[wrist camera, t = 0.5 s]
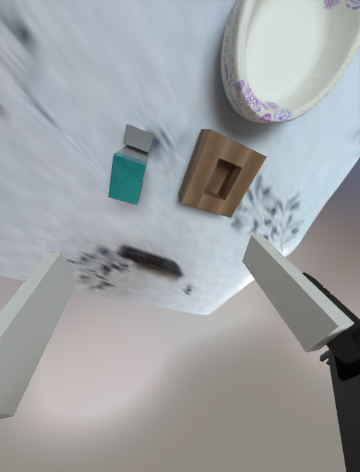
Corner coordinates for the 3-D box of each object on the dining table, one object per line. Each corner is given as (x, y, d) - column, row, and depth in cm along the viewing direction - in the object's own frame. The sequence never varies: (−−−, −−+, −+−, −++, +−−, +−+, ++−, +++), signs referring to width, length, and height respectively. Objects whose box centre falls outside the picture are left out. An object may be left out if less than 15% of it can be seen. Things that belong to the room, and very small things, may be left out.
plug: (122, 174, 29) (108, 197, 19) (127, 144, 26) (113, 154, 17) (141, 180, 30) (137, 204, 20) (147, 152, 27) (146, 165, 18)
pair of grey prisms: (119, 188, 30) (116, 193, 28) (129, 124, 25) (126, 124, 22) (139, 194, 31) (138, 199, 29) (153, 134, 26) (153, 135, 24)
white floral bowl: (209, 125, 27) (227, 125, 20) (219, -36, 18) (258, -129, 11) (289, 122, 28) (330, 121, 22) (335, -27, 19) (427, -104, 13)
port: (178, 194, 33) (181, 203, 28) (201, 129, 27) (210, 129, 23) (221, 207, 36) (230, 217, 32) (251, 152, 30) (266, 156, 26)
